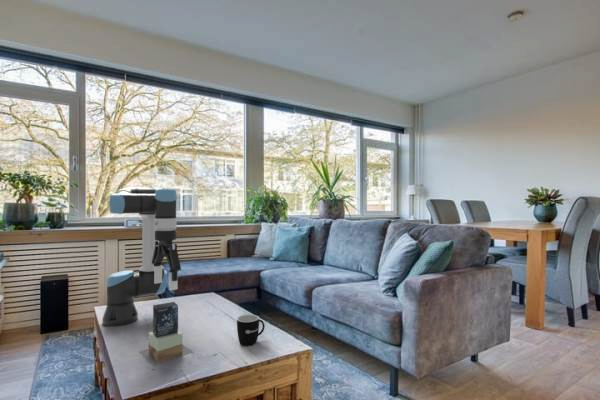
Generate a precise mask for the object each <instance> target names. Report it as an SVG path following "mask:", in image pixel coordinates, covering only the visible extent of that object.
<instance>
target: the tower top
mask: <svg viewBox="0 0 600 400" xmlns="http://www.w3.org/2000/svg"><path fill="white" fill-rule="evenodd" d="M149 344H150V345H151V346H152V347H153V348H155V349H156V350H157V351H161V350H164V349H167V348H170V347H174V346H177V345H180V344H183V332H182V331H180V330H178V333H174V334H169V335H164V336H160V337H156V336H155V335H154V333H153V331H150V332H148V345H149Z"/></svg>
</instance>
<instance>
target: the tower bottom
mask: <svg viewBox="0 0 600 400" xmlns="http://www.w3.org/2000/svg"><path fill="white" fill-rule="evenodd" d="M182 344H183V343H182ZM182 344H180V345H177V346H174V347H170V348H167V349H164V350H161V351H157V350H156V349H155V348H153V347H152V346H151V345H150V344H149V343H148V349H149V355H150V356H151V357H152V358H153V359H155V360H156V361H157V362H158V363H159V362H162V361H165V360H167V359H170V358H173V357H176V356H179V355H182Z"/></svg>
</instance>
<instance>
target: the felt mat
mask: <svg viewBox="0 0 600 400" xmlns="http://www.w3.org/2000/svg"><path fill="white" fill-rule="evenodd" d="M192 353H194V351H193V350H192V349H190V348H188V347H187V346H185V345H184V344H183V343H182V355H179V356H176V357H173V358H170V359H167V360H165V361H162V362H159V363H158V362H157V361H156V360H155V359H153V358H152V357H151V356H150V355H149V348H147V349H142V350H140V351H138V354H140V355H141V356H142V358H144V359H146V361H148V362H149V363H150V364H151V365H152V366H156V365H159V364H163V363H166V362H168V361H171V360H174V359H175V360H176V359H177V358H180V357H183V356H186V355H189V354H192Z"/></svg>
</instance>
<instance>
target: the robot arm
mask: <svg viewBox="0 0 600 400" xmlns="http://www.w3.org/2000/svg"><path fill="white" fill-rule="evenodd" d="M177 199H178V197H177V191H176V189H175V188H161V187H135V186H134V187H130V186H129V187H124V188H121V189H118V190H115V191H114V192H113V193H111V194H110V195H109V213H110V214H118V215H121V214H138V215H139V216H140V217H141V218H142V223H141V225H142V227H141V228H142V230H141V231H142V233H141V236H142V237H141V238H142V241H141V242H142V245H141V247H142V249H141V251H142V252H141V253H142V254H141V259H142V260H141V261H142V262H141V263H142V264H141V266H140V267H139V269H138V272H136V273H135V272H134V270H132V269H131V270H129V269H128V270H121V271H117V272H113V273H111V274H110V275H109V276H108V277H107V279H106V286H105V287H106V307H105V310H104V313H103V316H102V325H103V326H106V327H116V326H118V327H120V326H124V325H129V324H131V323H133V322H135V321H137V320H138V318H139V313H138V310H137V308H136V305H135V298H139V297H146V296H147V297H148V296H156V295H161V294H163V293H164V292H165V291H166V288H167V286H169V287H168V288H169V289H168V290H169V291H174V290H178V278H179V277H178V275H179V274H178V272H179V271H181V270H182V268H181V262H180V258H179V252H178V245H177V243H173V241H175V240H177V230H176V229H177V219H178V218H177ZM164 258H166V260H167V261H166V262H167V264H168V267H169V271H167V270H166V269H165V267H164V266H163V265H164V264H163V260H164ZM168 273H169V275H168ZM168 276H169V278H168ZM168 279H169V280H168ZM168 283H169V285H167V284H168Z"/></svg>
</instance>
